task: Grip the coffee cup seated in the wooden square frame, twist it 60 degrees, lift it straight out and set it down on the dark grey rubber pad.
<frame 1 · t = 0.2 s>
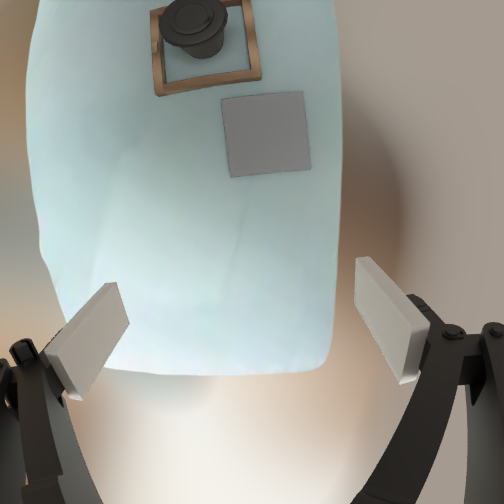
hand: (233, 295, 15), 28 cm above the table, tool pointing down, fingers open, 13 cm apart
coffee cup: (204, 43, 34), resting in wooden square frame
wooden square frame: (204, 42, 34), on the table
pad: (266, 133, 38), on the table
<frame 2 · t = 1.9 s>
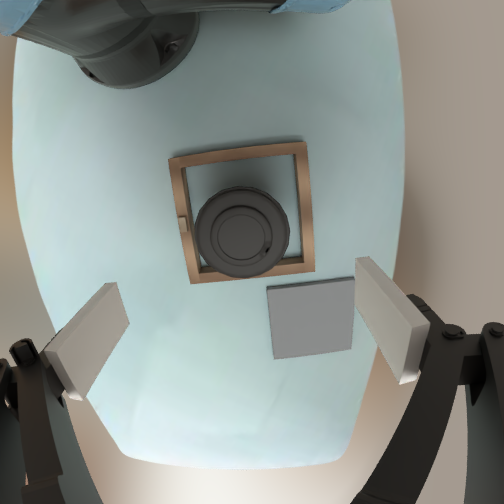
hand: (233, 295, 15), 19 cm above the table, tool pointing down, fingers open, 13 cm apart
coffee cup: (244, 211, 33), resting in wooden square frame
wooden square frame: (244, 212, 33), on the table
pad: (312, 319, 38), on the table
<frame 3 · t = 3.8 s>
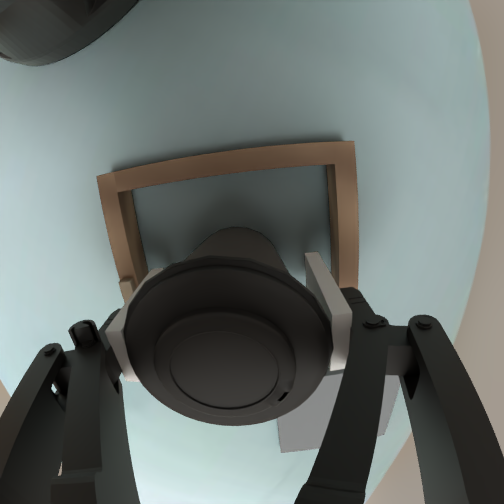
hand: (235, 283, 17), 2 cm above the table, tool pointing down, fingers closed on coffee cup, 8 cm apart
coffee cup: (237, 266, 19), resting in wooden square frame, touching gripper
wooden square frame: (237, 267, 19), on the table
pad: (337, 408, 24), on the table
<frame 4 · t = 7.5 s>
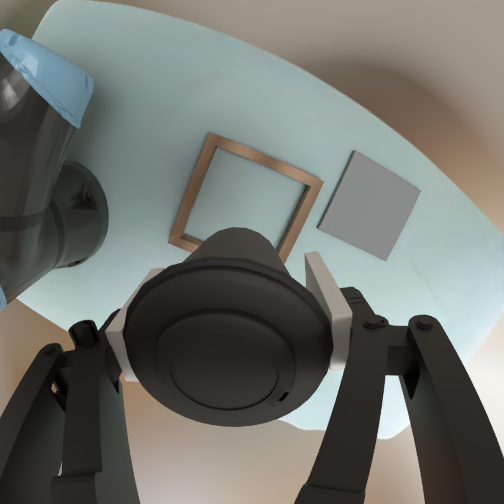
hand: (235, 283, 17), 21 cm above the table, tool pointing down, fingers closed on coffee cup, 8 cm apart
coffee cup: (237, 266, 19), point 19 cm above the table, touching gripper
wooden square frame: (243, 208, 37), on the table
pad: (370, 207, 37), on the table
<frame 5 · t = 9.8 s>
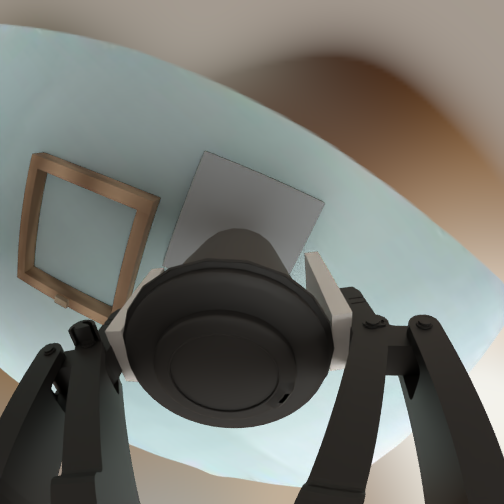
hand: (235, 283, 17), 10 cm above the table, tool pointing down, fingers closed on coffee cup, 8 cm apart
coffee cup: (237, 267, 19), point 8 cm above the table, touching gripper
wooden square frame: (79, 239, 27), on the table
pad: (240, 232, 26), on the table
when the fingers open (4 cm above the table, at t = 11.5 s): coffee cup drops 1 cm, resting on pad.
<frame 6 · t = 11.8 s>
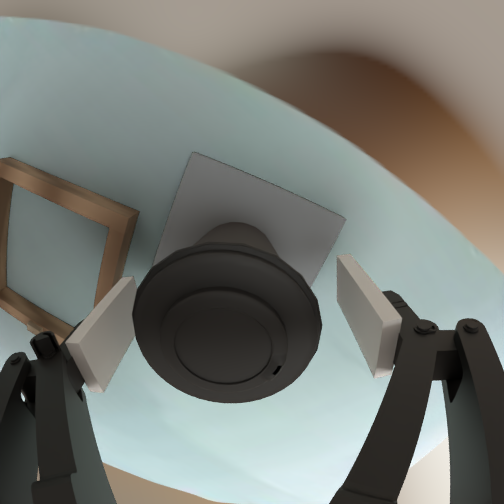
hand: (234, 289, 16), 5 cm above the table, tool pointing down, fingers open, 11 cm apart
coffee cup: (235, 259, 20), point 1 cm above the table, touching pad
wooden square frame: (50, 259, 21), on the table
pad: (239, 255, 21), on the table
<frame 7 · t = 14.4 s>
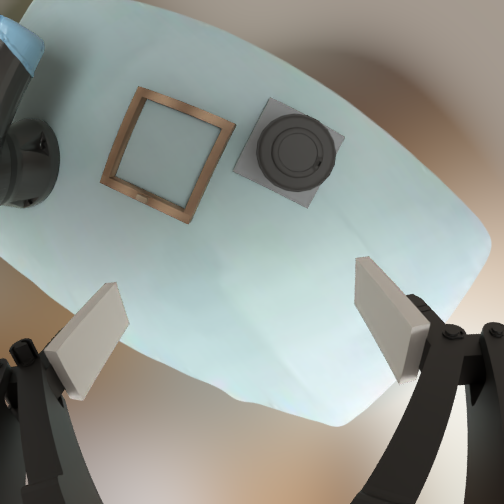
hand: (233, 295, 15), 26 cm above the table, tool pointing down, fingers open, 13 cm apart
coffee cup: (288, 152, 37), point 1 cm above the table, touching pad
wooden square frame: (165, 152, 38), on the table
pad: (289, 152, 37), on the table
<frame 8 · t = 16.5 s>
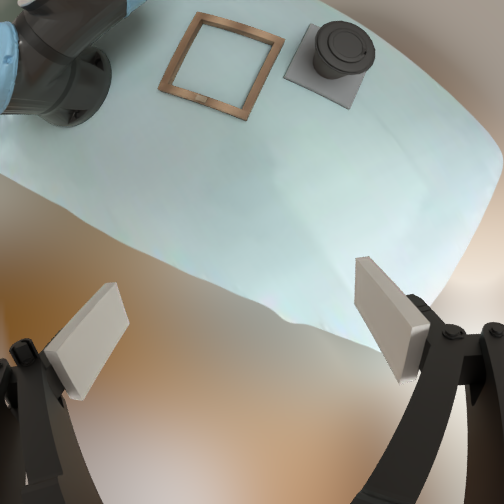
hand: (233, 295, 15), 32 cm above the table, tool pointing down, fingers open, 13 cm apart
coffee cup: (329, 64, 37), point 1 cm above the table, touching pad
wooden square frame: (221, 64, 38), on the table
pad: (329, 65, 38), on the table
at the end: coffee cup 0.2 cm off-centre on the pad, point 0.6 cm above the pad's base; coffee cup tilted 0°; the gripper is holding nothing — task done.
